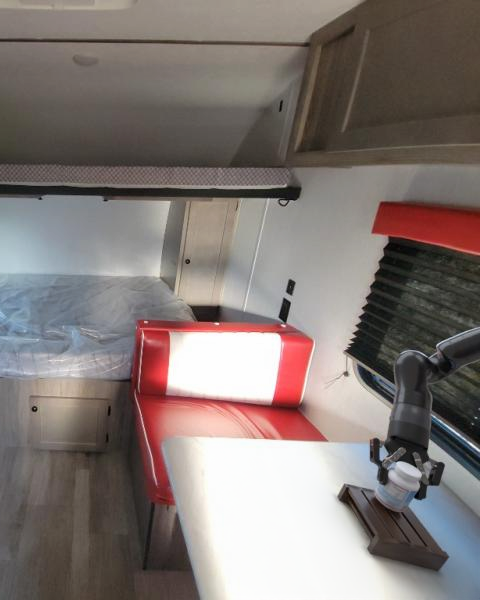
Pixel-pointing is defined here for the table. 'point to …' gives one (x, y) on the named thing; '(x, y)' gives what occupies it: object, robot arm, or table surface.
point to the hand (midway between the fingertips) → (400, 491)
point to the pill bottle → (399, 487)
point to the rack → (393, 530)
